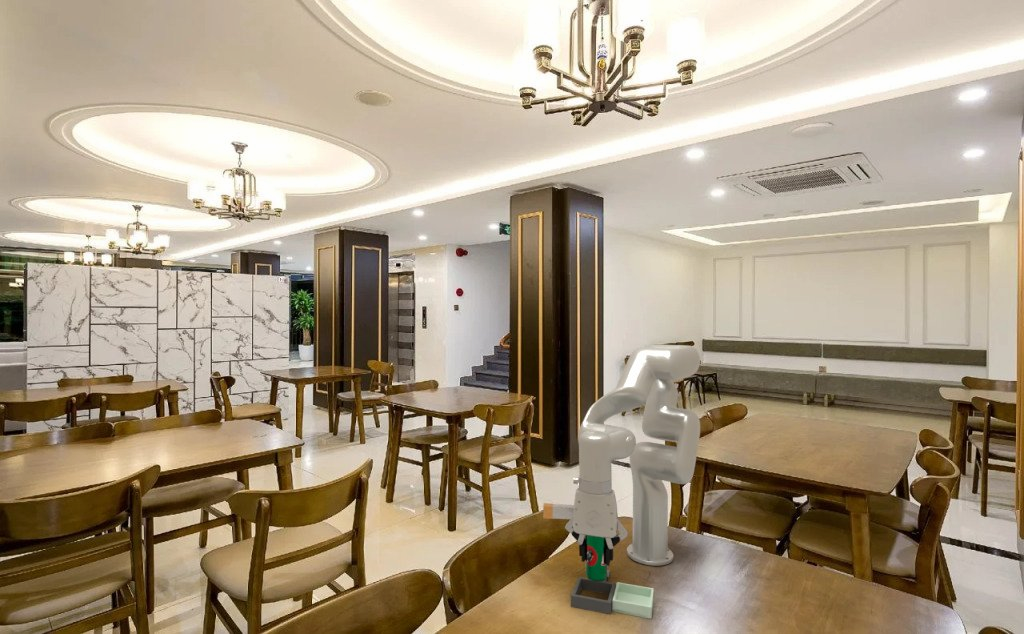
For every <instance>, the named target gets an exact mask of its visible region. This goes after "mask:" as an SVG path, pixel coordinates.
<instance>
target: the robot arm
mask: <svg viewBox="0 0 1024 634" xmlns="http://www.w3.org/2000/svg"><path fill="white" fill-rule="evenodd" d="M700 363H701V357H700V353H699V351H698V350H697V348H695V347H694V346H692V345H685V344H684V345H683V344H682V345H681V344H662V343H657V344H648V345H645V346H643V347H639V348H636V349H634V350H633V351H632V352H631V354H630V356H629V358H628V360H627V362H626V364H625V366H624V369H623V371H622V373H621V375H620V378H619V380H618V382H617V384H616V386H615V388H614V389H612V390H611V391H608V392H607V393H606V394H604V395H603V396H602V397H600V398H599V399H597V400H596V401H595V402H594V403H593V404H592V405H591V406H590V407H589V408H588V410H587V412H586V413H585V416H584V418H583V420H582V422H581V424H580V427H579V431H578V435H577V442H578V455H579V456H578V465H579V466H578V468H579V470H578V473H579V474H578V475H579V476H578V477H573V480H572V481H573V484H576V485H578V487H577V489H576V490H575V495H574V500H573V501H574V502H573V505H574V514H573V517H572V518H571V519H569V520H568V522H567V523H566V524H565V526H564V529H565V530H566V531H567V532H569V534H571V536H572V537H573V538H574V539H575V540H576V542H577V544H578V546H579V547H578V550H579V551H578V553H579V555H578V556H579V557H581V562H582V563H584V562H585V563H586V553H585V535H588V536H596V537H602V538H606V542H607V547H606V565H607V567H610V564H611V562H612V561H614V548H615V546H617V545H618V544H619V543H620V542H621V541H623V540H624V539H626V538H627V537H628V534H629V531H627V529H626V527H624V525H623V524H622V522H621V521H620V520H619V518H618V517H619V516H618V515H619V513H618V504H617V499H616V498H617V497H616V492H615V490H614V489H612V488H613V487H612V480H613V479H612V461H618V460H623V459H627V458H629V465H630V471H631V479H632V543H631V544H629V545H628V546H627V547H626V554H627V556H628V557H629V558H630V559H631V560H632V561H635V562H637V563H639V564H641V565H646V566H652V567H653V566H654V567H655V566H656V567H657V566H658V567H659V566H660V567H661V566H666V565H669V564H671V563H672V562H673V560H674V553H673V552H672V550H671V549H669V547H668V543H669V541H668V538H669V537H668V536H669V535H668V532H669V531H668V530H669V529H668V528H669V527H668V524H669V522H668V521H669V519H668V517H669V512H668V511H669V505H668V504H669V496H668V491H667V488H666V486H665V484H664V482H668V483H673V484H679V485H686V484H689V483H690V482H691V480H692V478H693V476H694V473H695V467H696V462H697V455H698V449H699V441H700V438H701V437H700V436H701V421H700V418H699V416H698V414H697V413H696V412H695V411H694V410H691V409H687V408H681V407H680V408H679V407H677V402H678V397H679V391H678V388H677V386H676V384H675V382H674V381H679V380H684V379H686V378H689V377H691V376H693V375H695V374H696V373H697V371H698V370H699V368H700ZM644 405H645V406H644ZM642 406H644V410H643V415H642V422H641V430H642V433H643V434H644V435H645V436H647V437H648V438H651V439H654V440H660V441H667V442H673V443H676V446H674V445H667V444H663V443H658V442H653V441H652V442H651V441H640V442H637V440H636V439H637V438H636V436H635V434H634V432H632V430H630V429H629V428H626V427H623V426H616V425H611V424H610V425H609V424H604V423H605V422H606V421H607V420H608V419H610V418H612V417H613V416H615V415H618V414H621V413H624V412H627V411H631V410H634V409H635V410H636V409H638V408H640V407H642ZM663 481H664V482H663ZM617 531H618V532H619V533H618V534H617Z"/></svg>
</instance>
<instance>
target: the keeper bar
mask: <svg viewBox="0 0 1024 634" xmlns="http://www.w3.org/2000/svg"><path fill="white" fill-rule="evenodd" d="M542 506H543V507H542V509H543V510H542V512H543V513H542V516H543V517H542V518H543V519H551V520H552V519H556V520H558V519H559V520H561V519H562V520H570V519H571V518H572V517H573V514H574V504H564V503H563V504H561V503H549V502H548V503H546V502H544V503H543V505H542Z"/></svg>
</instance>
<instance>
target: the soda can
mask: <svg viewBox="0 0 1024 634" xmlns="http://www.w3.org/2000/svg"><path fill="white" fill-rule="evenodd" d="M606 547H607V542H606V538H602V537H596V536H588V535H585V553H586V560H585V575H586V578H589V579H590V580H592V581H596V582H599V581H603V580H605V579H606V577H607V570H608V566H607V565H606Z"/></svg>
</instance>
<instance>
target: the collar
mask: <svg viewBox="0 0 1024 634" xmlns="http://www.w3.org/2000/svg"><path fill="white" fill-rule="evenodd" d="M616 585H617V582H612V581H611V582H610V581H599V582H596V581H592V580H590V579H589V578H588V577H582V576H578V578H577V579H576V583H575V585H574V587H573V590H572V592H571V594H570V607H571V608H572V607H573V608H577V609H581V610H587V611H593V612H597V613H603V614H608V615H611V614H612V612H613V611H612V603H613V596H614V593H615V589H616ZM582 590H584V591H590V592H594V593H600V594H605V595H609V596H608V598H607V599H601V598H596V597H592V596H587V595H586V596H585V595H581V591H582Z"/></svg>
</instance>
